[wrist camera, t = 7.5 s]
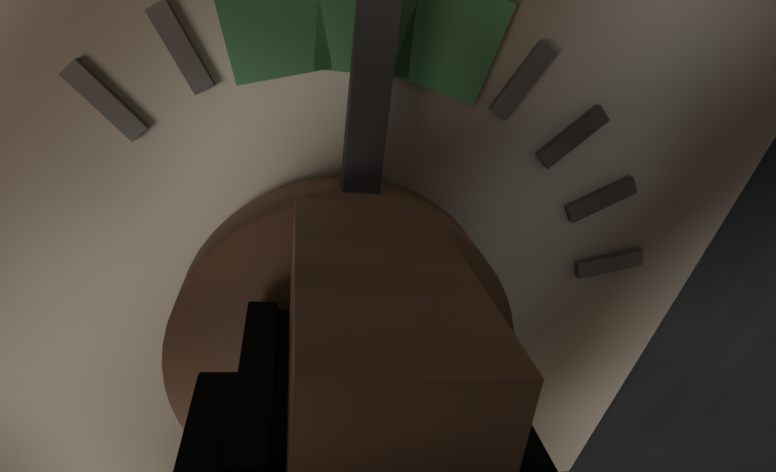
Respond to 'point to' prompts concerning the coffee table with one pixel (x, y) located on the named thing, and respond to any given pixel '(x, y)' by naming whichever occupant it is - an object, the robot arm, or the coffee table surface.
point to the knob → (364, 308)
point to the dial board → (324, 159)
